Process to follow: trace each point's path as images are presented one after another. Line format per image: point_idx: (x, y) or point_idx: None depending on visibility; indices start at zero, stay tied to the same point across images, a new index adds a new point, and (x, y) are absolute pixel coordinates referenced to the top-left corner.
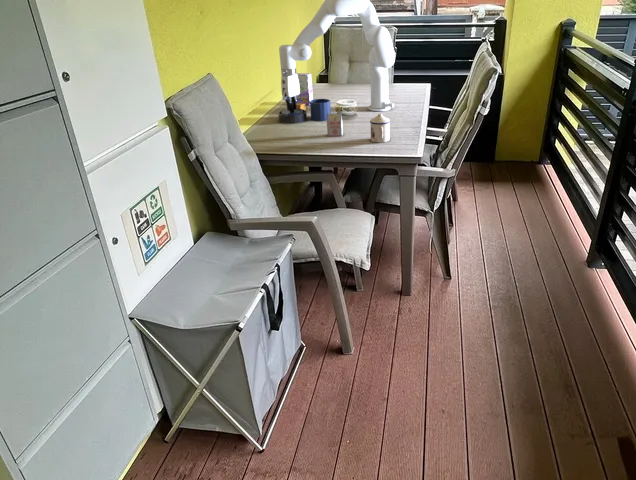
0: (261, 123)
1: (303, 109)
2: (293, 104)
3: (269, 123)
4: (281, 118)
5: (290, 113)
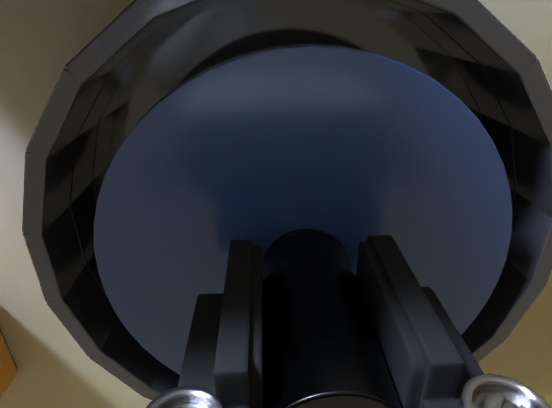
0: (546, 386)
1: (25, 198)
2: (318, 333)
3: (532, 329)
4: None
5: (433, 215)
